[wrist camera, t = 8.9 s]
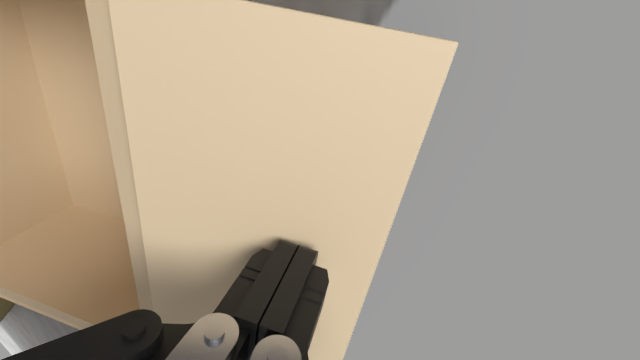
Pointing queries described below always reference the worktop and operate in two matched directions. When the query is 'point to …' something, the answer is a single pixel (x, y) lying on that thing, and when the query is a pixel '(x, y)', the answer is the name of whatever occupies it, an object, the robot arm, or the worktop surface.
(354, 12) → the worktop surface
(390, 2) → the worktop surface
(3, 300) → the squeeze bottle
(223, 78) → the flap
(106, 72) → the carton
